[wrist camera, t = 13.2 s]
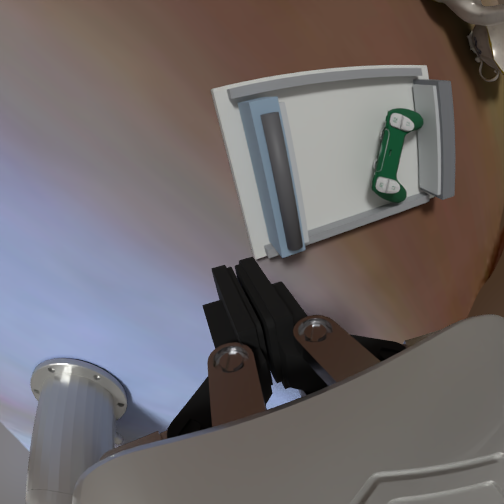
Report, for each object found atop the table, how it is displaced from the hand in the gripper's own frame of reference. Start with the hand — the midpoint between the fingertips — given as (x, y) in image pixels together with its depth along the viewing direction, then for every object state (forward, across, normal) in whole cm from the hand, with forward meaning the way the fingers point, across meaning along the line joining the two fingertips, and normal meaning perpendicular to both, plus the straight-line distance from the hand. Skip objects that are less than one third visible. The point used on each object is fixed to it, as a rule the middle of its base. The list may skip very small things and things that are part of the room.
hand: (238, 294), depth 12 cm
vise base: (+14, -14, -2) cm, 20 cm away
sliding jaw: (+13, -6, -1) cm, 15 cm away
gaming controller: (+13, -18, -1) cm, 23 cm away
